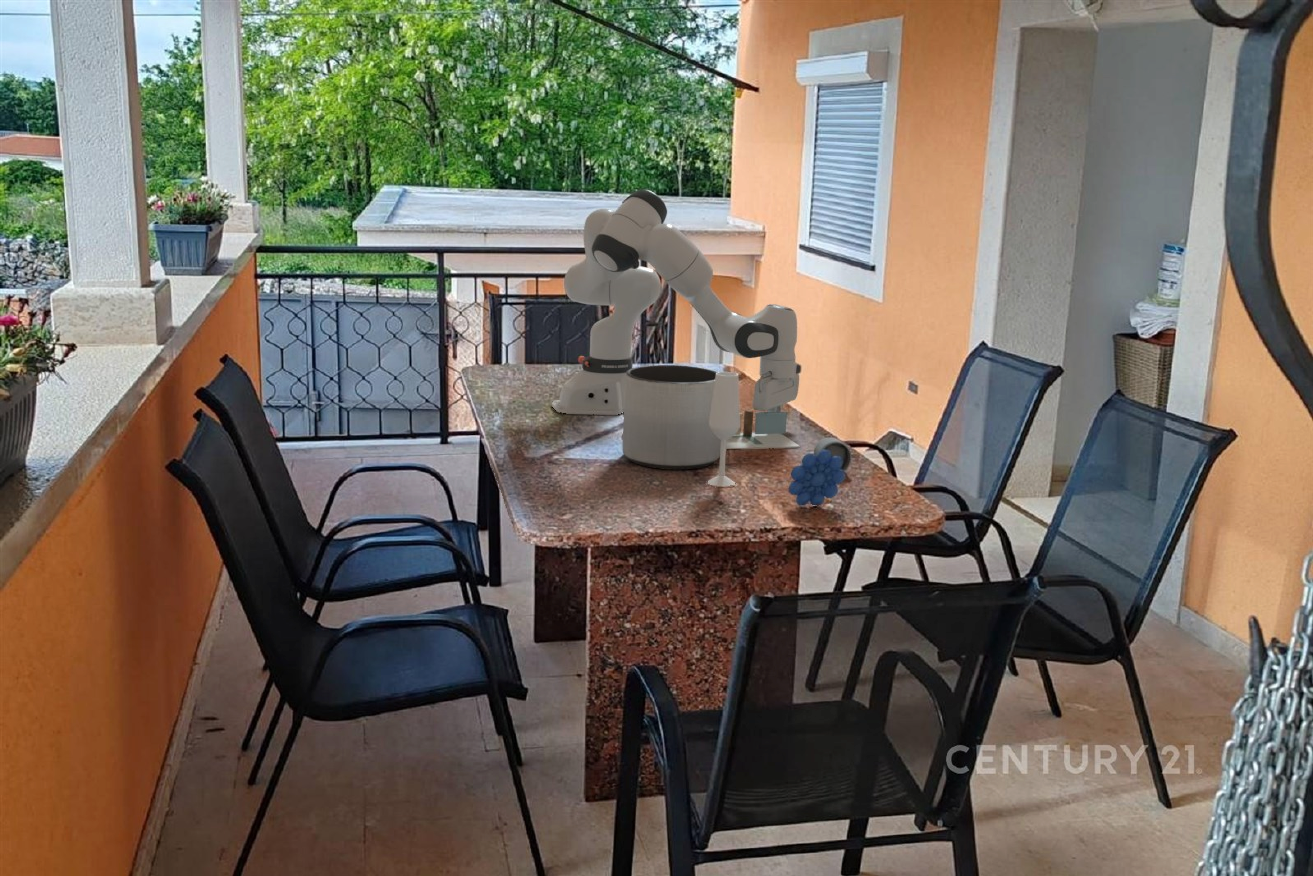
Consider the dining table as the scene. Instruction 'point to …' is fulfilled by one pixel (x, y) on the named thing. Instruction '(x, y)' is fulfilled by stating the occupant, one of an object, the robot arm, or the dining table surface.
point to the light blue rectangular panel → (770, 422)
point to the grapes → (816, 478)
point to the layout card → (760, 442)
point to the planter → (669, 417)
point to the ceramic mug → (835, 450)
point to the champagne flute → (724, 417)
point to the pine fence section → (746, 423)
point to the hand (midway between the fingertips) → (773, 422)
